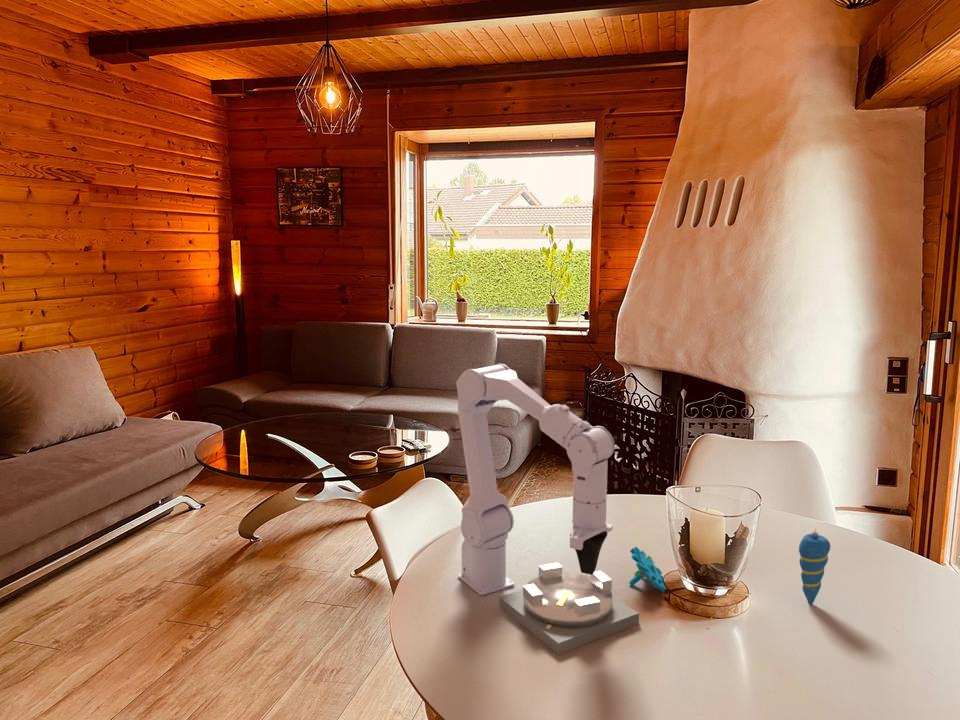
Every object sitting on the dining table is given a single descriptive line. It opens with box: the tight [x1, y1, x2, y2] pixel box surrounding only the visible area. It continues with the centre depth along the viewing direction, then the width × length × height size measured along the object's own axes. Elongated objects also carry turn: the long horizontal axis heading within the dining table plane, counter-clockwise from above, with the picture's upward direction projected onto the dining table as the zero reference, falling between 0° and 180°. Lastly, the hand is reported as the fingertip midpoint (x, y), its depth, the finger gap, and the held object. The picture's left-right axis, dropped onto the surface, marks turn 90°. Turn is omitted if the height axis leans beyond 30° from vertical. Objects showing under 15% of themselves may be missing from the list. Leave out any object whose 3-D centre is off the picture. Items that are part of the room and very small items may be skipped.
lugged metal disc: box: [522, 562, 613, 627], centre depth 125 cm, size 16×16×4 cm
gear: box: [628, 546, 666, 593], centre depth 136 cm, size 11×6×10 cm
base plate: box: [498, 589, 640, 655], centre depth 125 cm, size 18×18×2 cm
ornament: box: [798, 528, 831, 605], centre depth 127 cm, size 5×5×15 cm
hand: (587, 572), depth 120 cm, fingers closed
